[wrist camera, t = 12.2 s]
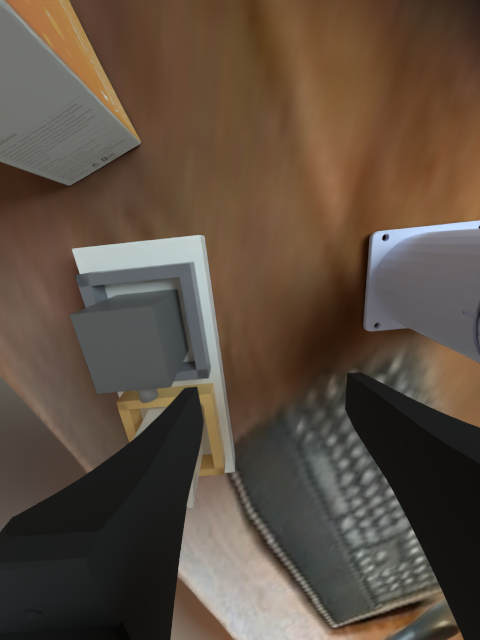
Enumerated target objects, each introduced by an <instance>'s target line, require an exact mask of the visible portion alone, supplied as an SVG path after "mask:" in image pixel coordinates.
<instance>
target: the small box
mask: <svg viewBox="0 0 480 640" xmlns="http://www.w3.org/2000/svg"><path fill="white" fill-rule="evenodd" d="M139 144H141V141H140V139H139V137H138V135H137V133H136V132H135V130H134V128H133V126H132V124H131V122H130V121H129V119H128V117H127V115H126V113H125V111H124V109H123V107H122V105H121V104H120V102H119V100H118V98H117V96H116V94H115V92H114V90H113V88H112V86H111V84H110V82H109V80H108V78H107V76H106V74H105V72H104V70H103V68H102V66H101V64H100V62H99V60H98V58H97V56H96V54H95V52H94V50H93V48H92V46H91V44H90V42H89V40H88V38H87V36H86V34H85V32H84V30H83V28H82V26H81V24H80V22H79V20H78V18H77V16H76V14H75V12H74V10H73V8H72V6H71V4H70V2H69V0H0V162H2V163H5V164H8V165H11V166H14V167H16V168H19V169H22V170H25V171H28V172H31V173H34V174H36V175H40V176H42V177H45V178H48V179H51V180H54V181H56V182H59V183H62V184H65V185H68V186H70V185H72V184H74V183H76V182H77V181H79V180H81V179H82V178H84V177H86V176H88V175H89V174H91V173H92V172H94V171H96V170H98V169H99V168H101V167H103V166H104V165H106V164H108V163H109V162H111V161H113V160H114V159H116V158H118V157H119V156H121V155H122V154H124V153H126V152H127V151H129V150H131V149H132V148H134V147H136V146H138V145H139Z"/></svg>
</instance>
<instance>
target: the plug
mask: <svg viewBox="0 0 480 640" xmlns="http://www.w3.org/2000/svg"><path fill="white" fill-rule="evenodd" d="M167 407H168V406H165V407H153V408H150V409H149V411H148V412H147V414H146V416H145V418H144V420H143V422H142V423H141V425H140V427H139V429H138V431H137V433H136V434H135V436H134V438H136V437H137V436H138V435H139V434H140V433H141V432H142V431H143V430H145V429H146V428H147V427H148V426H149V425H150V424H151V423H152V422H153V421H154V420H155V419H156V418H157V417H158V416H159V415H160V414H161V413H162V412H163V411H164V410H165V409H166V408H167ZM201 409H202V414H203V420H204V408H203V406H201ZM134 438H133V439H134ZM203 446H204V423H203V432H202V441H201V445H200V450H199V454H198V458H197V463H196V467H195V471H194V475H193V479H192V484H191V488H190V492H189V497H188V502H187V508H193V507H194V501H195V495H196V490H197V484H198V478H199V473H200V467H201V461H202V455H203Z"/></svg>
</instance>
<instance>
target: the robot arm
mask: <svg viewBox="0 0 480 640" xmlns="http://www.w3.org/2000/svg"><path fill="white" fill-rule="evenodd" d="M479 226H480V221H471V222H462V223H452V224H443V225H433V226H424V227H414V228H405V229H396V230H386V231H377V232H374V233H373V234H372V235H371V236H370V240H369V254H368V267H367V281H366V295H365V308H364V322H363V327H364V329H365V330H367V331H370V332H371V331H382V330H393V329H404V328H410V329H412V330H414V331H416V332H418V333H420V334H422V335H424V336H426V337H428V338H430V339H432V340H434V341H436V342H438V343H440V344H442V345H444V346H446V347H448V348H450V349H452V350H454V351H456V352H458V353H460V354H462V355H464V356H466V357H468V358H470V359H472V360H474V361H476V362H478V363H480V229H478V228H479ZM384 234H385V235H386V239H385V240H384V241H383V240H382V237H383V235H384ZM376 323H378V325H377V326H376V327H374V325H375V324H376ZM345 410H346V412H347V414H348V416H349V418H350V421H351V423H352V425H353V427H354V429H355V430H356V432H357V434H358V435H359V437H360V439H361V440H362V442H363V443H364V445H365V446H366V448H367V450H368V451H369V453H370V454H371V456H372V457H373V459H374V461H375V462H376V464H377V465H378V467H379V468H380V470H381V471H382V473H383V475H384V476H385V478H386V479H387V481H388V483H389V485H390V486H391V488H392V490H393V492H394V494H395V495H396V497H397V499H398V501H399V503H400V505H401V507H402V509H403V511H404V513H405V515H406V516H407V518H408V520H409V522H410V524H411V526H412V528H413V531H414V533H415V535H416V537H417V539H418V541H419V543H420V545H421V547H422V549H423V551H424V553H425V555H426V557H427V559H428V561H429V563H430V566H431V568H432V570H433V572H434V574H435V576H436V578H437V580H438V583H439V585H440V587H441V589H442V591H443V593H444V596H445V598H446V600H447V602H448V605H449V607H450V609H451V611H452V614H453V616H454V618H455V620H456V623H457V625H458V627H459V629H460V632H461V634H462V636H463V638H464V640H480V428H479V427H476V426H474V425H471V424H468V423H466V422H463V421H461V420H458V419H456V418H453V417H451V416H449V415H446V414H444V413H441V412H439V411H437V410H435V409H432V408H430V407H428V406H426V405H424V404H422V403H420V402H417V401H415V400H413V399H411V398H409V397H407V396H405V395H403V394H401V393H400V392H398V391H396V390H394V389H392V388H390V387H388V386H386V385H384V384H382V383H381V382H379V381H377V380H375V379H373V378H371V377H369V376H367V375H365V374H363V373H361V372H357V373H347V384H346V403H345ZM203 423H204V420H203V414H202V409H201V404H200V398H199V393H198V387H187V388H184V389H183V390H182V391H181V392H180V394H179V395H178V396H177V397H176V398H175V399H174V400H173V401H172V402H171V403H170V404H169V406H168V407H167V408H166V409H165V410H164V411H163V412H162V413H161V414H160V415H159V416H158V417H157V418H156V419H155V420H154V421H153V422H152V423H151V424H150V425H149V426H148V427H147V428H146V429H145V430H143V431H142V432H141V433H140V434H139V435H138V436H137V437H136V438H134V439H133V440H132V441H131V442H130V443H128V444H127V445H126V446H125V447H124V448H122V449H121V450H120V451H119V452H117V453H116V454H114V455H113V456H112V457H110V458H109V459H108V460H106V461H105V462H103V463H102V464H101V465H99V466H98V467H97V468H95V469H94V470H92V471H91V472H89V473H88V474H86V475H85V476H83V477H82V478H80V479H79V480H77V481H76V482H74V483H72V484H71V485H69V486H67V487H66V488H64V489H63V490H61V491H59V492H57V493H56V494H54V495H52V496H51V497H49V498H47V499H45V500H43V501H42V502H40V503H38V504H36V505H35V506H33V507H31V508H29V509H27V510H25V511H24V512H22V513H20V514H18V515H16V516H14V517H12V518H11V520H10V521H9V522H8V523H7V525H6V526H5V527H4V528H3V529H2V531H1V532H0V640H170V637H171V628H172V618H173V609H174V600H175V591H176V583H177V574H178V566H179V558H180V551H181V543H182V536H183V529H184V522H185V515H186V508H187V502H188V497H189V492H190V488H191V484H192V479H193V475H194V471H195V467H196V463H197V458H198V454H199V450H200V445H201V441H202V432H203Z"/></svg>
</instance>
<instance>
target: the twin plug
mask: <svg viewBox="0 0 480 640" xmlns="http://www.w3.org/2000/svg"><path fill="white" fill-rule="evenodd" d="M70 318H71V321H72V323H73V326H74V329H75V332H76V335H77V338H78V341H79V343H80V346H81V349H82V352H83V355H84V358H85V360H86V363H87V366H88V369H89V372H90V375H91V378H92V380H93V383H94V386H95V389H96V392H97V394H101V393H113V392H124V391H135V390H137V392H138V395H139V399H140V401H141V402H142V403H148V402H151V401H153V400H155V399H156V398H157V397H158V390H157V389H158V388H169V387H171V386H172V384H173V382H174V380H175V378H176V376H177V374H178V372H179V370H180V368H181V365H182V363H183V361H184V359H185V357H186V355H187V353H188V351H189V349H188V344H187V339H186V333H185V328H184V323H183V317H182V312H181V307H180V302H179V296H178V291H177V289H171V290H161V291H151V292H141V293H131V294H121V295H116V296H113V297H111V298H108V299H106V300H104V301H101V302H99V303H96V304H94V305H92V306H89V307H87V308H84V309H82V310H80V311H77V312H75V313H72V314H70Z"/></svg>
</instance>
